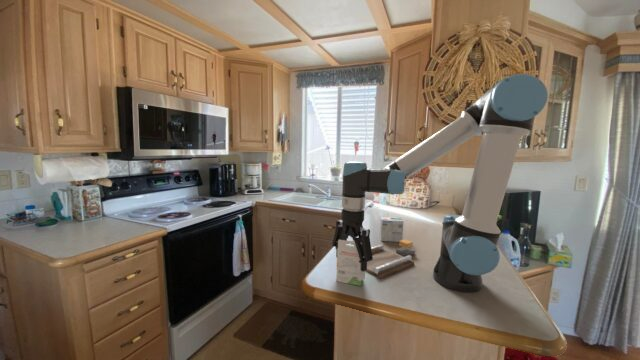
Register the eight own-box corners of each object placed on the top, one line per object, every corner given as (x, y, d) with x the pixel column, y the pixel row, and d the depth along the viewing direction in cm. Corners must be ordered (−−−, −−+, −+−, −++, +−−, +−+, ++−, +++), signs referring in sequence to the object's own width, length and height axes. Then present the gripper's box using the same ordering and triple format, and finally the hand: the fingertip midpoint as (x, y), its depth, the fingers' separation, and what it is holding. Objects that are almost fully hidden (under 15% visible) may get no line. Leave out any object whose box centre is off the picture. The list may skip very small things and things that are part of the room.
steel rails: (411, 260, 105) (411, 256, 104) (377, 274, 93) (378, 268, 92) (381, 248, 117) (381, 244, 116) (348, 259, 105) (348, 254, 104)
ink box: (363, 279, 91) (365, 238, 89) (360, 286, 86) (363, 243, 84) (339, 274, 93) (341, 234, 92) (335, 281, 89) (337, 239, 87)
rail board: (414, 264, 104) (414, 262, 104) (380, 278, 92) (380, 275, 92) (378, 249, 118) (378, 247, 118) (345, 260, 106) (345, 257, 106)
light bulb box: (400, 237, 135) (401, 217, 134) (402, 242, 128) (404, 221, 127) (378, 236, 136) (380, 216, 135) (380, 241, 129) (381, 219, 128)
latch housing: (414, 253, 114) (414, 250, 114) (406, 256, 111) (407, 253, 111) (403, 249, 119) (403, 246, 119) (396, 252, 116) (396, 249, 115)
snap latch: (412, 246, 114) (412, 241, 114) (407, 248, 112) (407, 243, 112) (404, 243, 117) (404, 239, 117) (399, 245, 115) (399, 241, 115)
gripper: (323, 203, 93) (321, 264, 96) (370, 217, 76) (366, 291, 78) (339, 201, 98) (337, 259, 100) (387, 214, 80) (383, 283, 83)
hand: (350, 273), depth 89 cm, fingers closed on ink box, 9 cm apart
